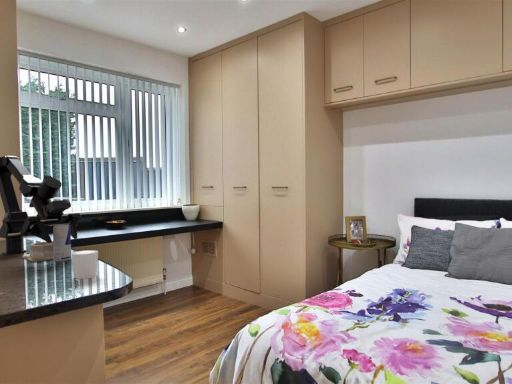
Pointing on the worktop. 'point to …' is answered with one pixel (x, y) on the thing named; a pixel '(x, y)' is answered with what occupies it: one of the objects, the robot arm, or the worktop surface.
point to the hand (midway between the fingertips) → (64, 240)
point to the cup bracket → (40, 252)
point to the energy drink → (61, 242)
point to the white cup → (85, 264)
